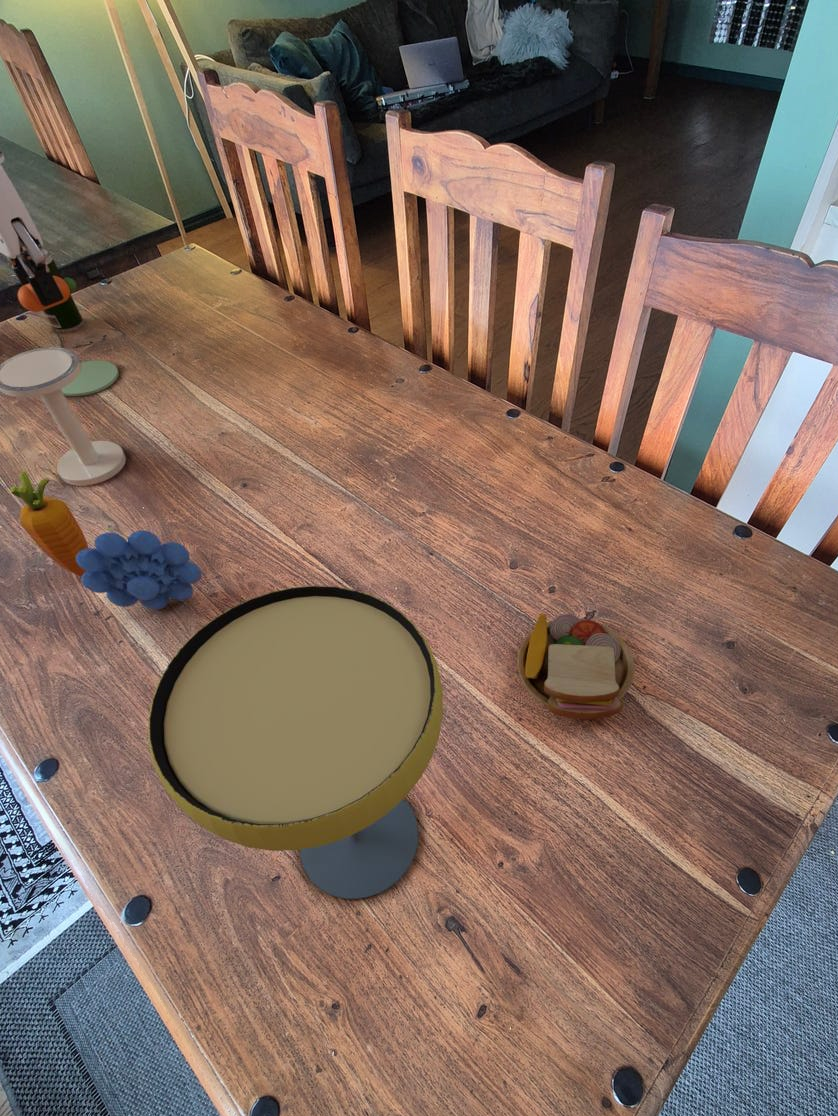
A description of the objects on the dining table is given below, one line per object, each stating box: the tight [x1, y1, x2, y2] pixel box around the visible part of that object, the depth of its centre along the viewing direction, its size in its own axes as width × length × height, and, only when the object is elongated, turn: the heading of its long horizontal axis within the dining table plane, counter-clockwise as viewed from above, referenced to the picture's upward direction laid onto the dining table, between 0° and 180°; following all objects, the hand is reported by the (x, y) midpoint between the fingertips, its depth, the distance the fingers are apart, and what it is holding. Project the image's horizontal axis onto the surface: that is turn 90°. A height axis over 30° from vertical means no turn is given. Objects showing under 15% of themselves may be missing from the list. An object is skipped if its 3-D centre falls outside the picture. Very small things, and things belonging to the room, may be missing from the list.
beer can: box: [39, 248, 84, 334], centre depth 115 cm, size 5×5×12 cm
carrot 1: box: [17, 276, 77, 313], centre depth 98 cm, size 8×4×4 cm, turn 138°
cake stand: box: [0, 346, 127, 487], centre depth 89 cm, size 10×10×15 cm
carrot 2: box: [10, 471, 89, 577], centre depth 75 cm, size 5×5×15 cm
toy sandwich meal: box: [516, 613, 635, 720], centre depth 70 cm, size 12×14×5 cm
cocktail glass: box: [147, 585, 444, 900], centre depth 51 cm, size 18×18×25 cm
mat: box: [61, 359, 120, 397], centre depth 108 cm, size 10×10×1 cm
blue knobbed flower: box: [76, 529, 202, 611], centre depth 73 cm, size 12×7×12 cm, turn 112°
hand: (45, 297), depth 98 cm, fingers closed on carrot 1, 3 cm apart
